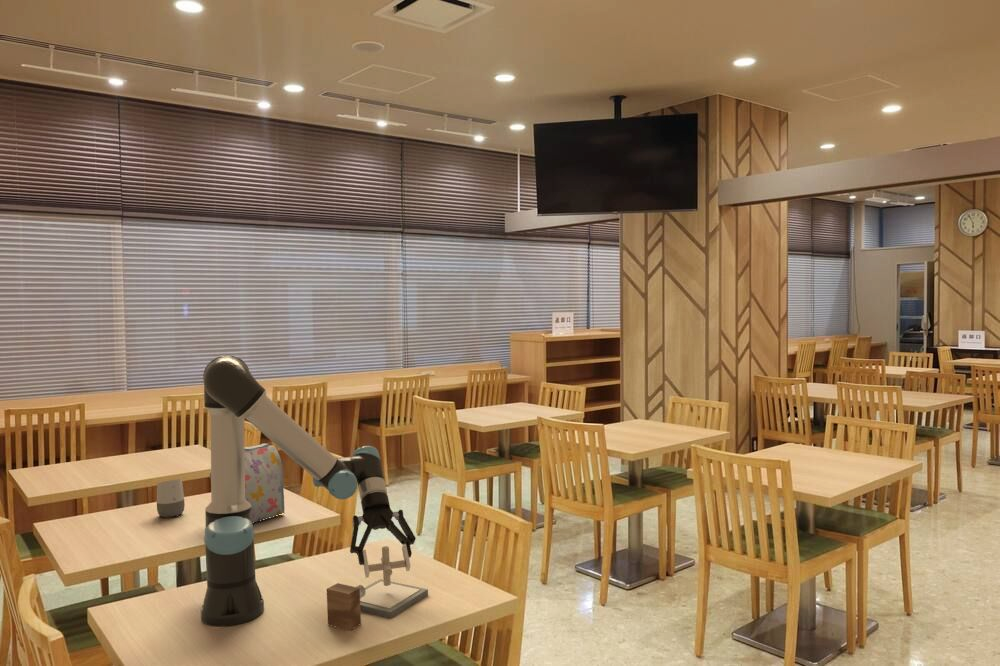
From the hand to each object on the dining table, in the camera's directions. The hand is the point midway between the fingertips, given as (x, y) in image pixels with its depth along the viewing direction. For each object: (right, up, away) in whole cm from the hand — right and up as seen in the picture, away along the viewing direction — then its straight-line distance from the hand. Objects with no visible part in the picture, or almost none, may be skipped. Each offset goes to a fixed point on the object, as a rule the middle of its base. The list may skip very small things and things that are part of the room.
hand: (388, 572), depth 197 cm
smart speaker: (-93, -6, +84) cm, 125 cm away
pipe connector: (-1, -4, +3) cm, 5 cm away
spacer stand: (-3, -8, -3) cm, 9 cm away
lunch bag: (-62, -5, +76) cm, 98 cm away
